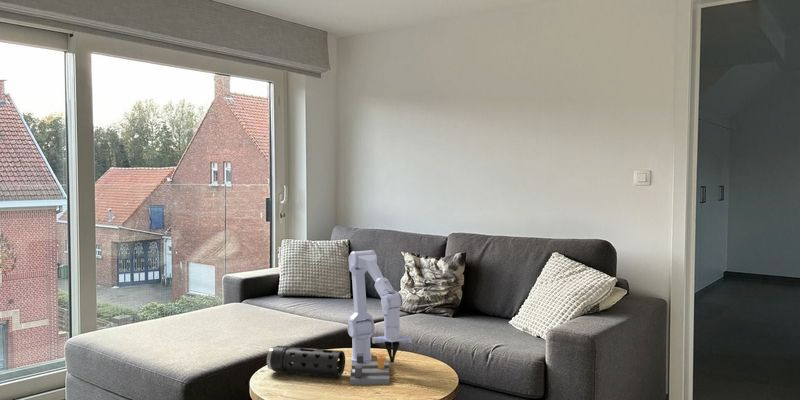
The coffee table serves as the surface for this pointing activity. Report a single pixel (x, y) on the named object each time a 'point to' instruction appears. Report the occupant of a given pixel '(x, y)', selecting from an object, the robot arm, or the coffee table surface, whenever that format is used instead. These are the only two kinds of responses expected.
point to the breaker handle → (380, 360)
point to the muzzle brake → (306, 361)
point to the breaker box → (368, 372)
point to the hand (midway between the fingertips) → (392, 361)
